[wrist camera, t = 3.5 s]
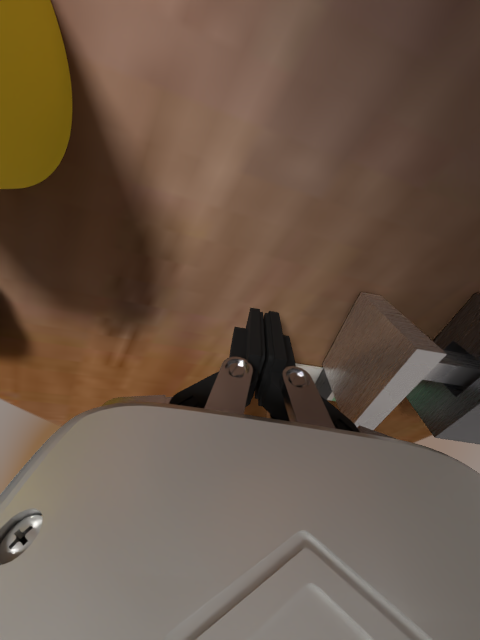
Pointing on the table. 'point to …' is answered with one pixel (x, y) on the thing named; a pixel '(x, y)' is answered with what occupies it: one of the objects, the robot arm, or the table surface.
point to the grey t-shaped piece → (385, 362)
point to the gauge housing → (447, 399)
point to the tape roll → (32, 93)
